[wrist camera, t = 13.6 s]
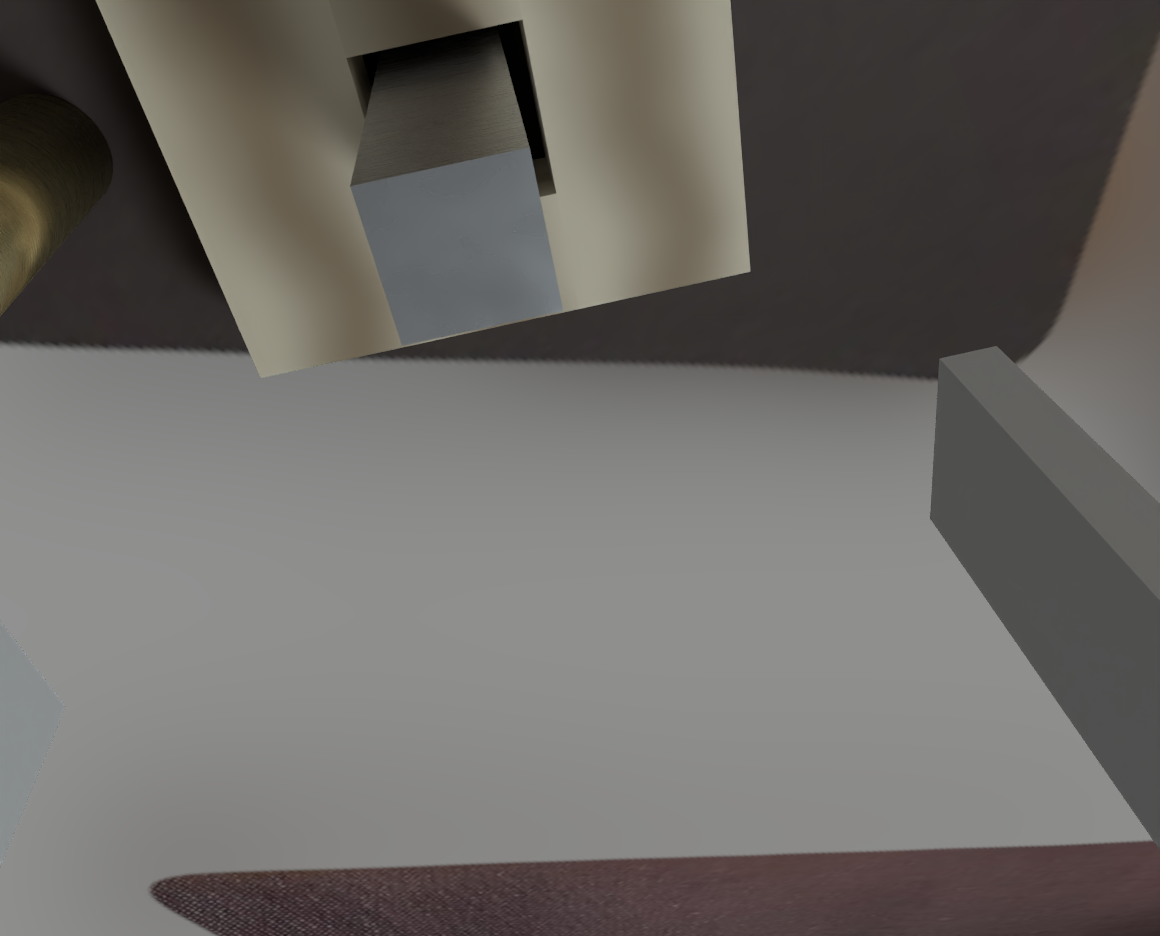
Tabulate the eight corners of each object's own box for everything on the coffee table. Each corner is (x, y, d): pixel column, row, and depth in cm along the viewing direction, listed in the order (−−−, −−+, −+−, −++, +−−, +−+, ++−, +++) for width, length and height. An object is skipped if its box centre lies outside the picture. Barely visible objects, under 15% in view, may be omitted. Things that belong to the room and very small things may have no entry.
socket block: (276, 328, 37) (260, 378, 34) (111, -74, 29) (69, -58, 26) (723, 230, 37) (750, 271, 34) (684, -199, 29) (715, -199, 26)
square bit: (413, 166, 34) (402, 345, 23) (380, 50, 32) (349, 186, 21) (521, 142, 34) (563, 310, 23) (496, 24, 32) (529, 147, 21)
